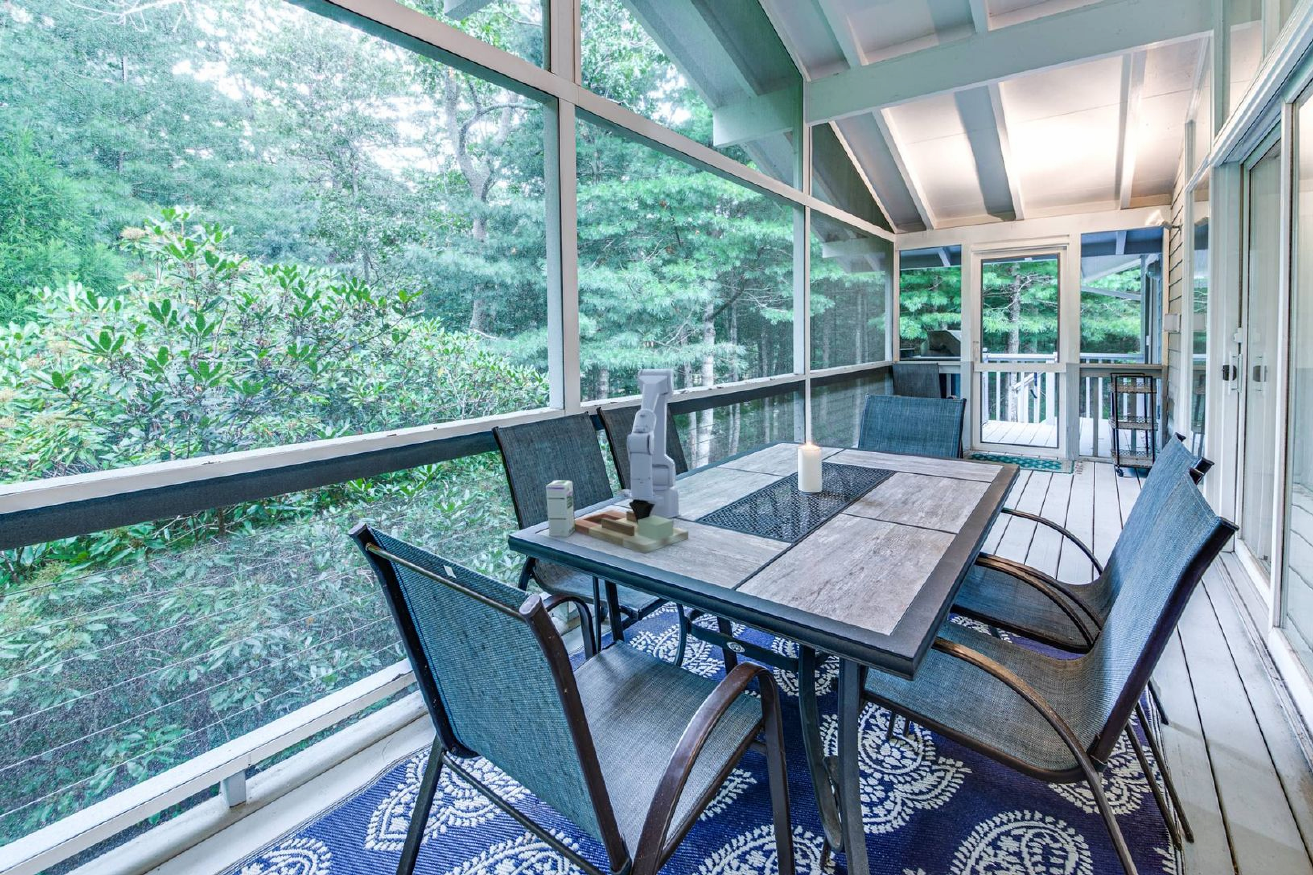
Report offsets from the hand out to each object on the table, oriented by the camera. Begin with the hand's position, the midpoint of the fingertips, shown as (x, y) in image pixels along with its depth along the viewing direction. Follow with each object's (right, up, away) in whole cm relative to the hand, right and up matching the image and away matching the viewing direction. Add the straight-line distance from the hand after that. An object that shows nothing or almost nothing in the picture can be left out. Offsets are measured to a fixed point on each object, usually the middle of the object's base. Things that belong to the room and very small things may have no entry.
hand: (642, 527), depth 167 cm
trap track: (-4, -2, +5) cm, 7 cm away
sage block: (+3, -2, -3) cm, 5 cm away
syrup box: (-22, -3, +6) cm, 23 cm away
